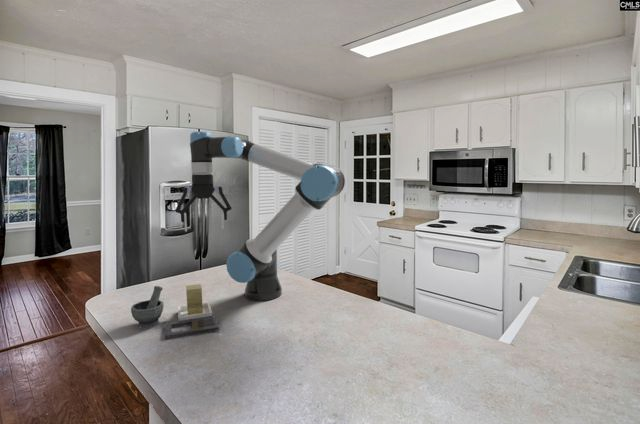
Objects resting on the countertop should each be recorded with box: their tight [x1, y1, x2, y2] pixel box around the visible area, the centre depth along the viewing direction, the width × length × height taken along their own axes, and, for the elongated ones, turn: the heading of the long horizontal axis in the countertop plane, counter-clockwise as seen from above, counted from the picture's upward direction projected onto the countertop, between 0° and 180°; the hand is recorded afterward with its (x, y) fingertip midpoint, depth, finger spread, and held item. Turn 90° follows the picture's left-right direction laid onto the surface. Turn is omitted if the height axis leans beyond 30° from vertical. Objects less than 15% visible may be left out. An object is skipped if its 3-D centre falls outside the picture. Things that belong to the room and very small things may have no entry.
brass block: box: [185, 283, 203, 315], centre depth 128 cm, size 5×5×10 cm
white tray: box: [177, 301, 213, 321], centre depth 129 cm, size 11×11×2 cm
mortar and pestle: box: [130, 285, 165, 330], centre depth 121 cm, size 11×9×12 cm
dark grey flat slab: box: [164, 315, 220, 340], centre depth 118 cm, size 16×10×1 cm, turn 112°
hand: (204, 229), depth 139 cm, fingers open, 13 cm apart
